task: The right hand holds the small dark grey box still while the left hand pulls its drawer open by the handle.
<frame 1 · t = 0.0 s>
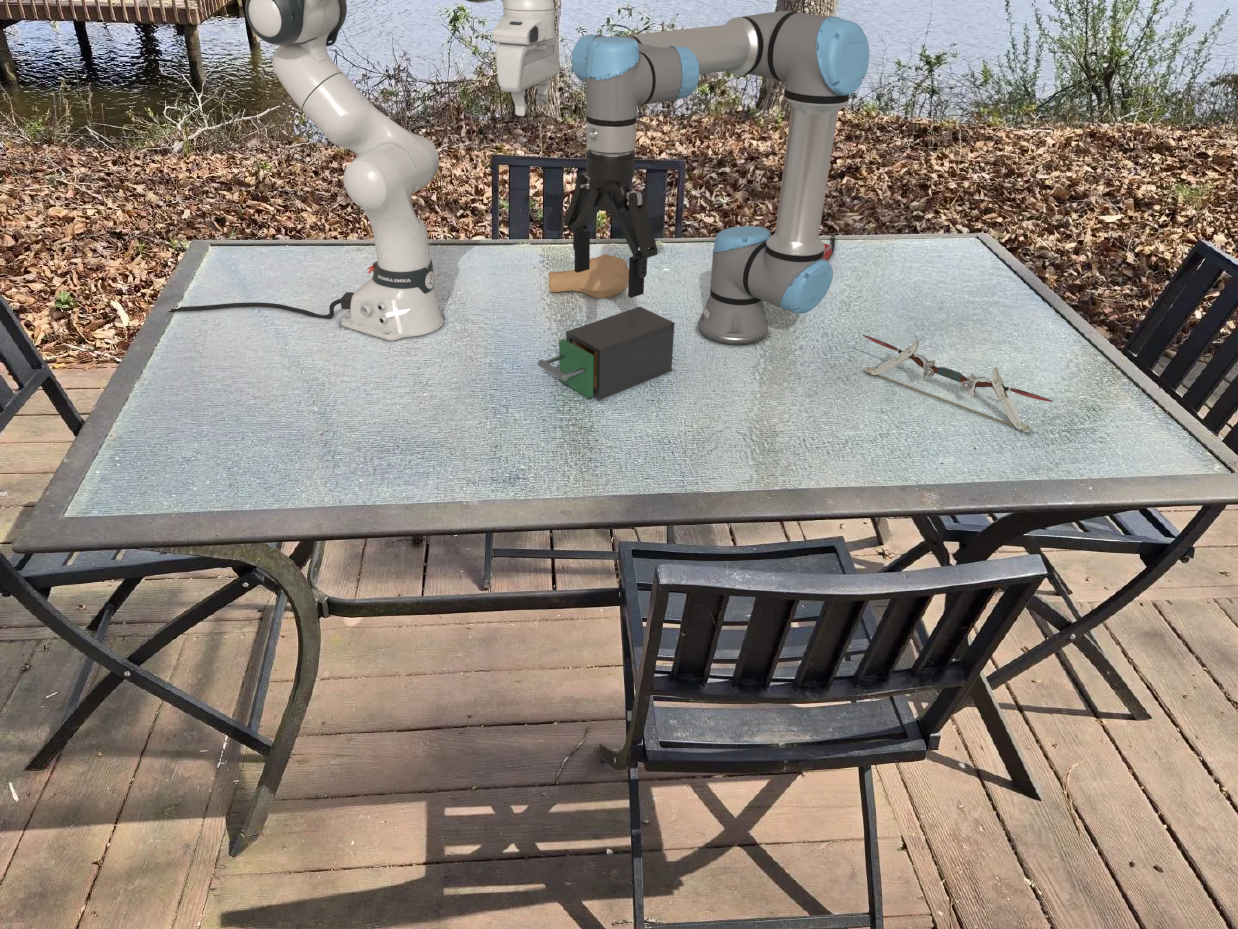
left hand: (531, 109, 161), 48 cm above the table, tool pointing down, fingers open, 8 cm apart
right hand: (608, 282, 145), 28 cm above the table, tool pointing down, fingers open, 13 cm apart
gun: (779, 270, 228), on the table
dark grey box: (619, 375, 178), on the table
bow: (943, 400, 172), on the table
squash: (589, 293, 213), on the table
drawer: (598, 359, 171), point 5 cm above the table, slide at 1.0 cm
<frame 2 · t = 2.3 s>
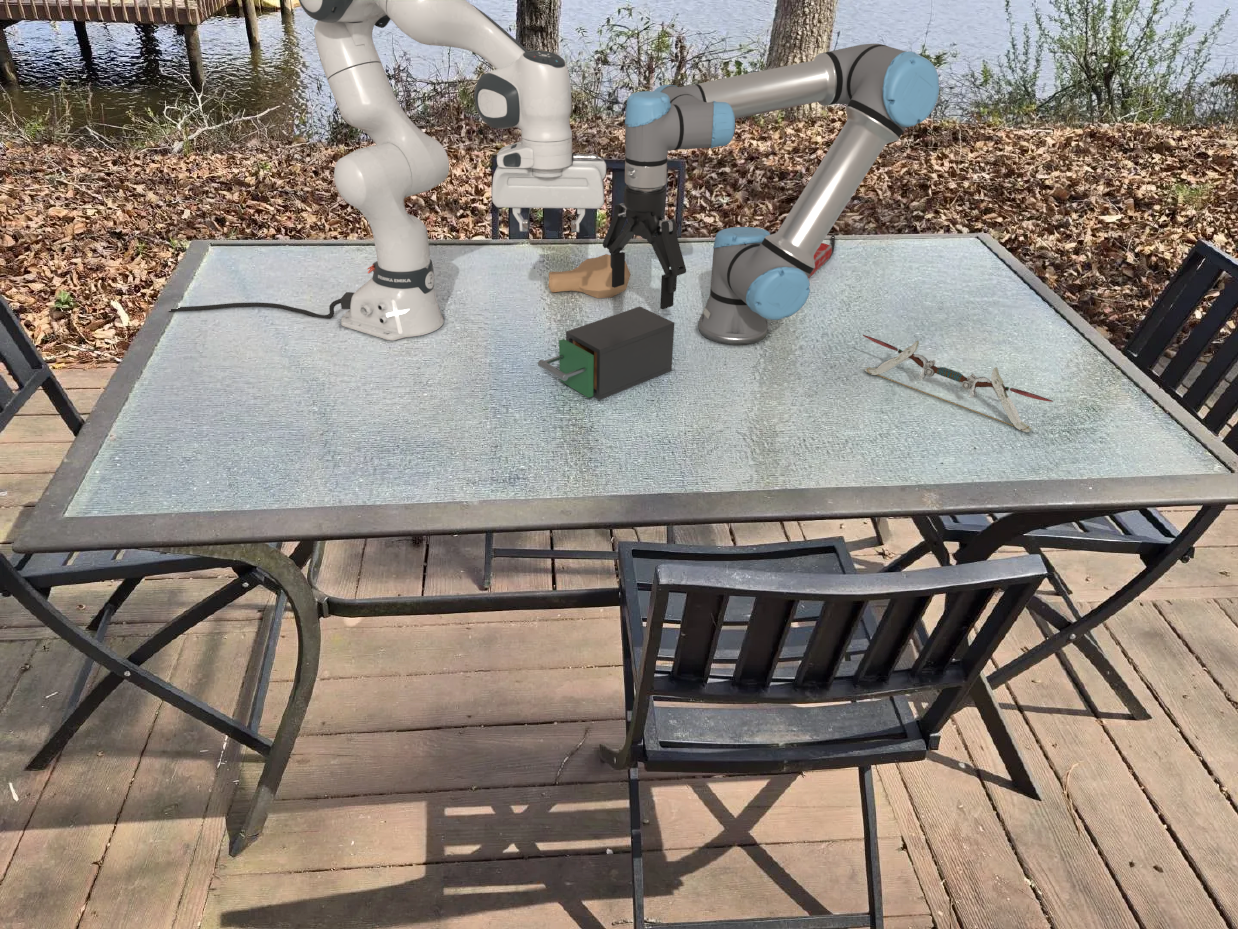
left hand: (549, 230, 161), 29 cm above the table, tool pointing down, fingers open, 8 cm apart
right hand: (641, 296, 169), 17 cm above the table, tool pointing down, fingers open, 13 cm apart
nothing on the table moved.
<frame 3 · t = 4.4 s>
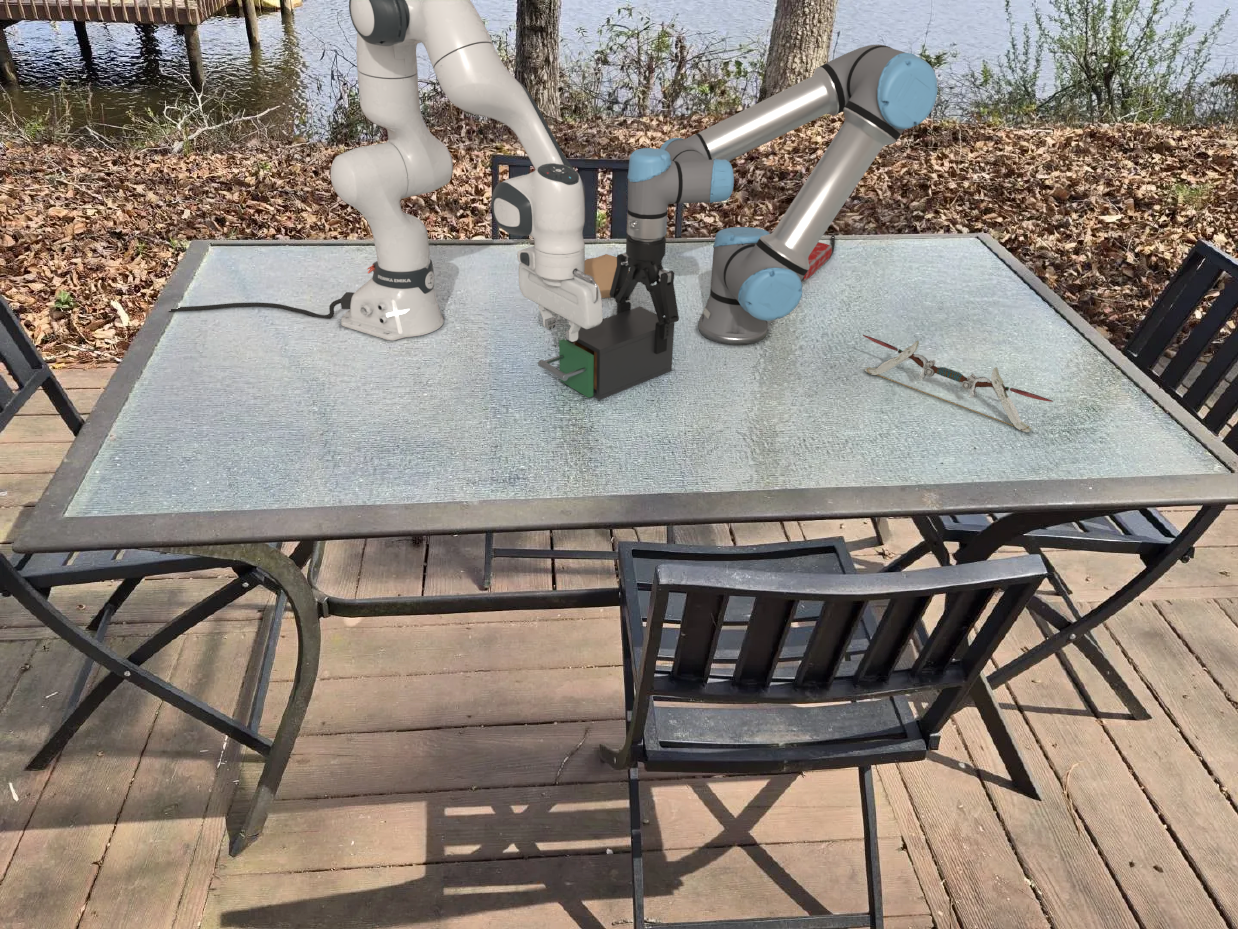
left hand: (560, 333, 162), 14 cm above the table, tool pointing down, fingers open, 5 cm apart
right hand: (641, 342, 178), 6 cm above the table, tool pointing down, fingers closed on dark grey box, 10 cm apart
dark grey box: (619, 375, 178), on the table, touching right hand
everything else where it was.
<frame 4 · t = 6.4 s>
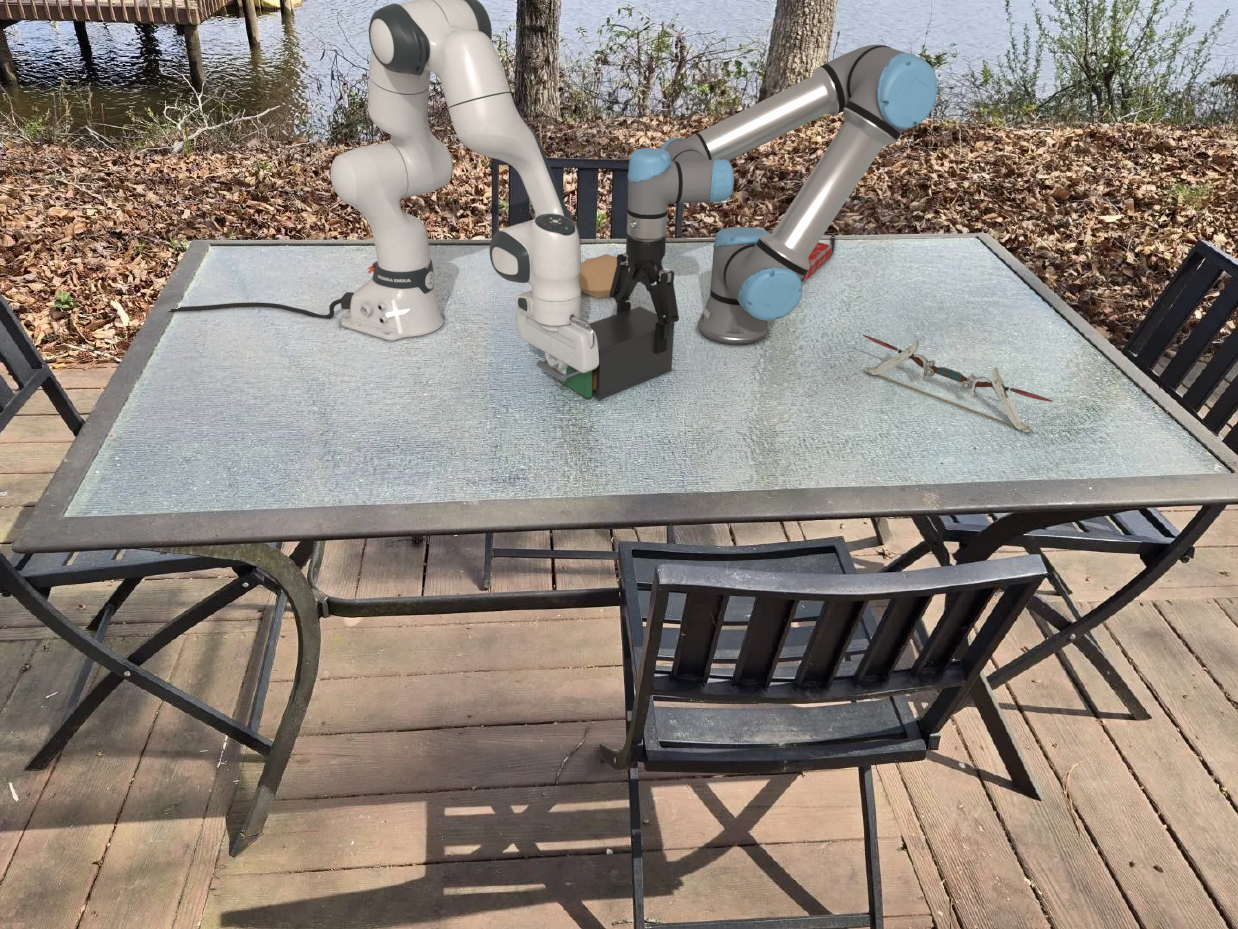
left hand: (557, 375, 166), 5 cm above the table, tool pointing down, fingers closed, pressing on drawer
right hand: (641, 342, 178), 6 cm above the table, tool pointing down, fingers closed on dark grey box, 10 cm apart
dark grey box: (619, 375, 178), on the table, touching right hand
drawer: (597, 360, 171), point 5 cm above the table, slide at 1.3 cm, touching left hand
everything else where it was.
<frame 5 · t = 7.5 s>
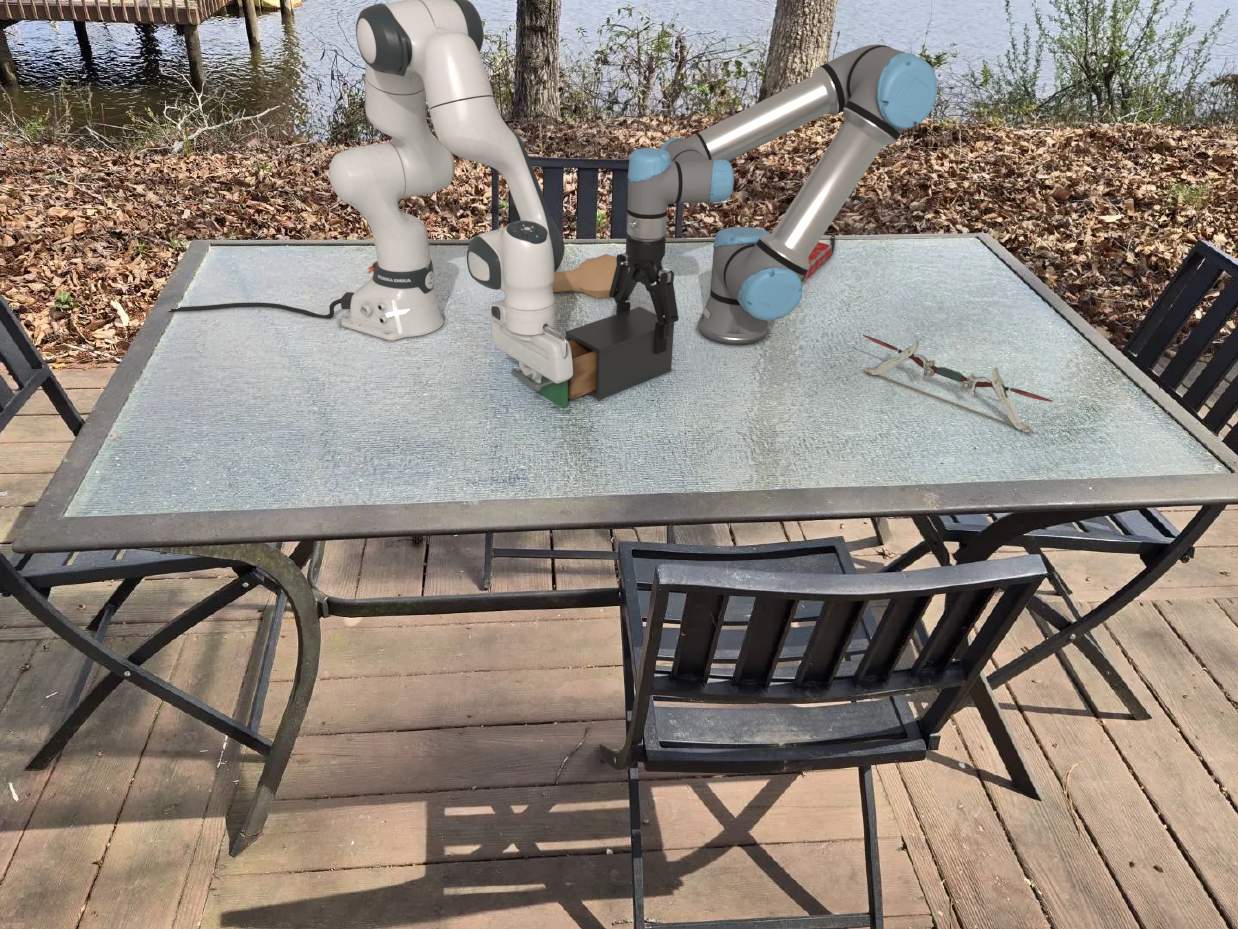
left hand: (532, 385, 163), 5 cm above the table, tool pointing down, fingers closed, pressing on drawer
right hand: (641, 342, 178), 6 cm above the table, tool pointing down, fingers closed on dark grey box, 10 cm apart
dark grey box: (619, 375, 178), on the table, touching right hand
drawer: (573, 368, 168), point 5 cm above the table, slide at 7.1 cm, touching left hand
everything else where it was.
when the right hand's fingers open (6 cm above the table, at t = 9.3 s): dark grey box stays where it is, on the table.
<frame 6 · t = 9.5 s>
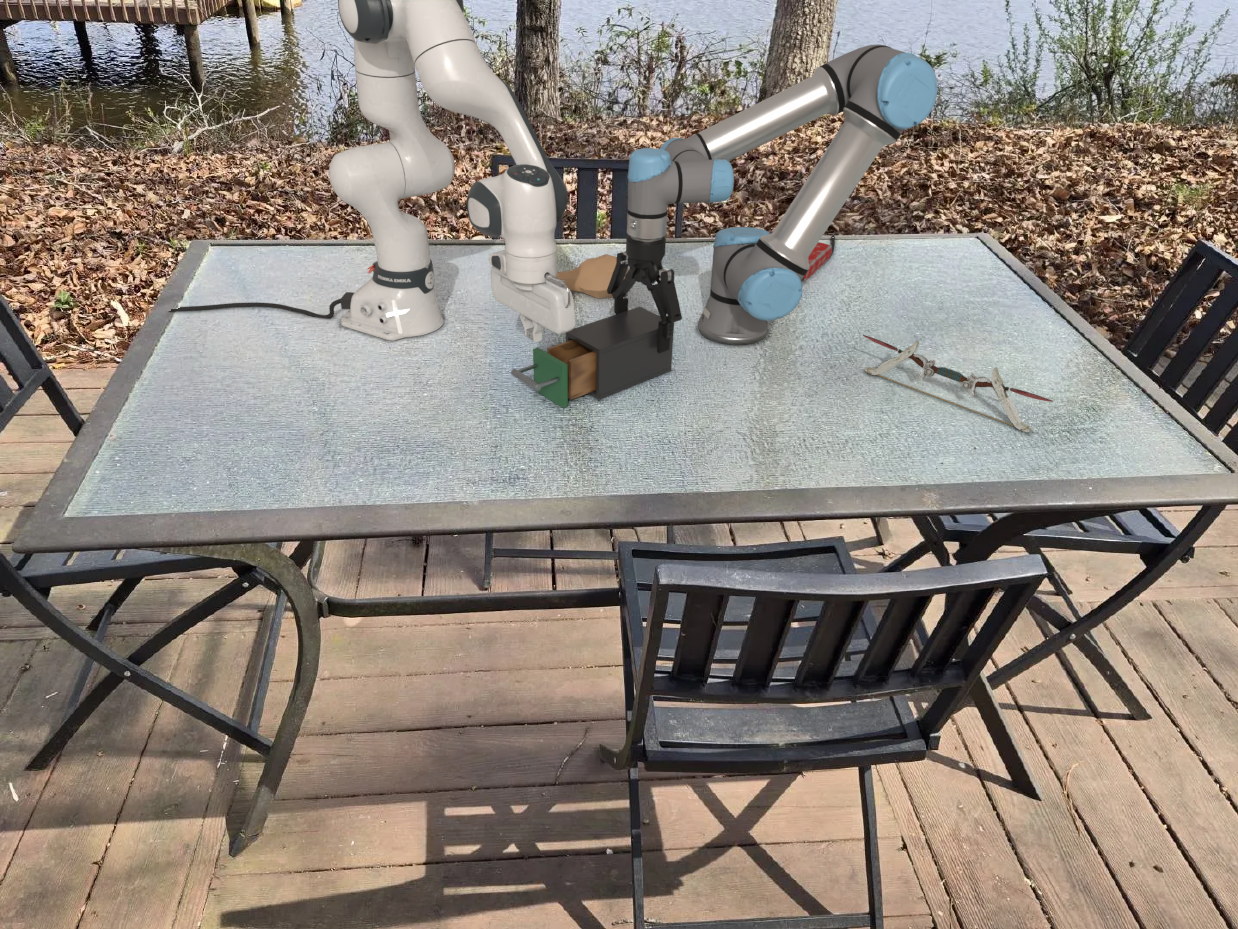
left hand: (533, 338, 158), 14 cm above the table, tool pointing down, fingers closed
right hand: (641, 339, 177), 6 cm above the table, tool pointing down, fingers open, 12 cm apart
dark grey box: (619, 375, 178), on the table
drawer: (573, 368, 168), point 5 cm above the table, slide at 7.1 cm
everything else where it was.
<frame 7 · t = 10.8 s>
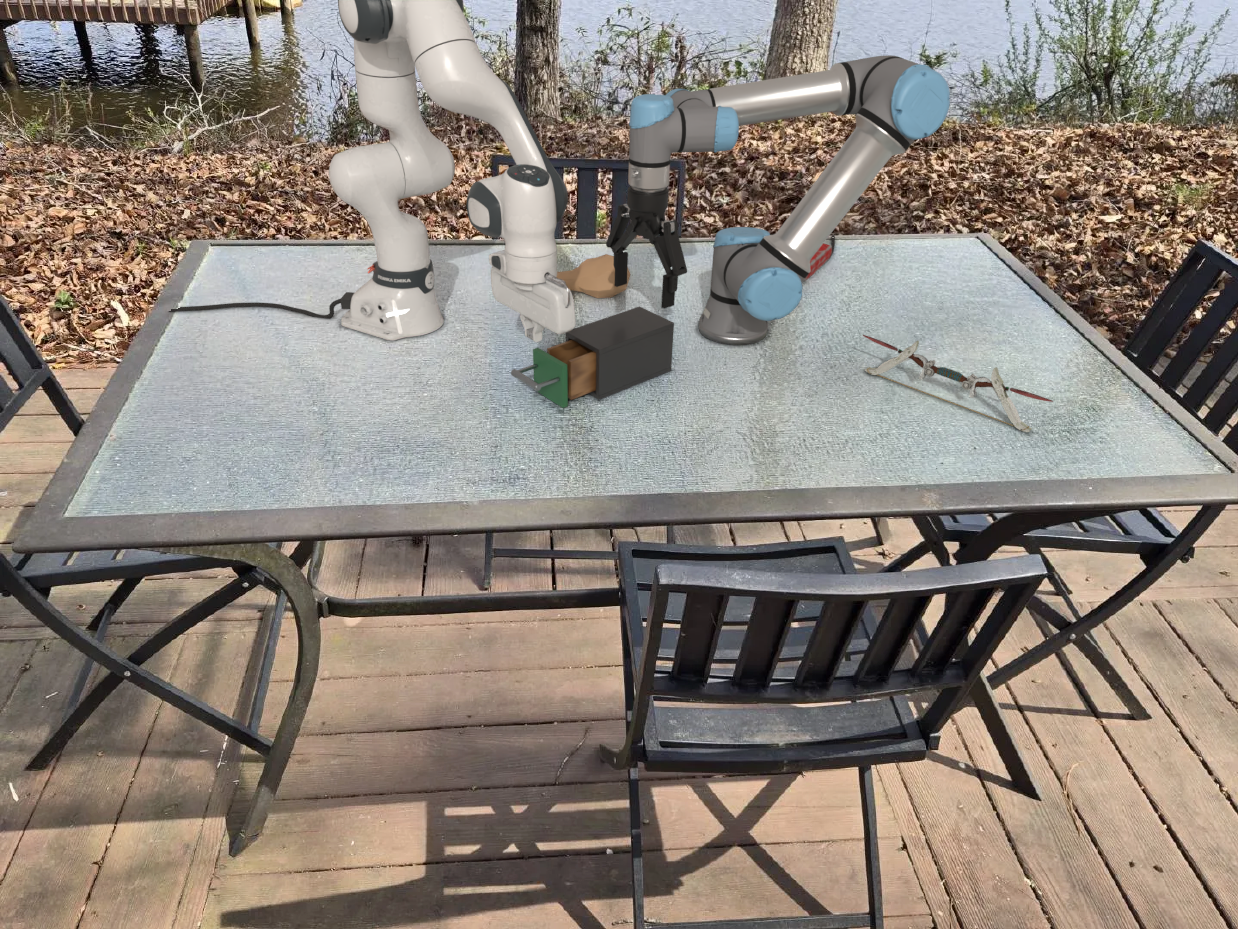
left hand: (533, 338, 158), 14 cm above the table, tool pointing down, fingers closed
right hand: (643, 295, 172), 16 cm above the table, tool pointing down, fingers open, 13 cm apart
nothing on the table moved.
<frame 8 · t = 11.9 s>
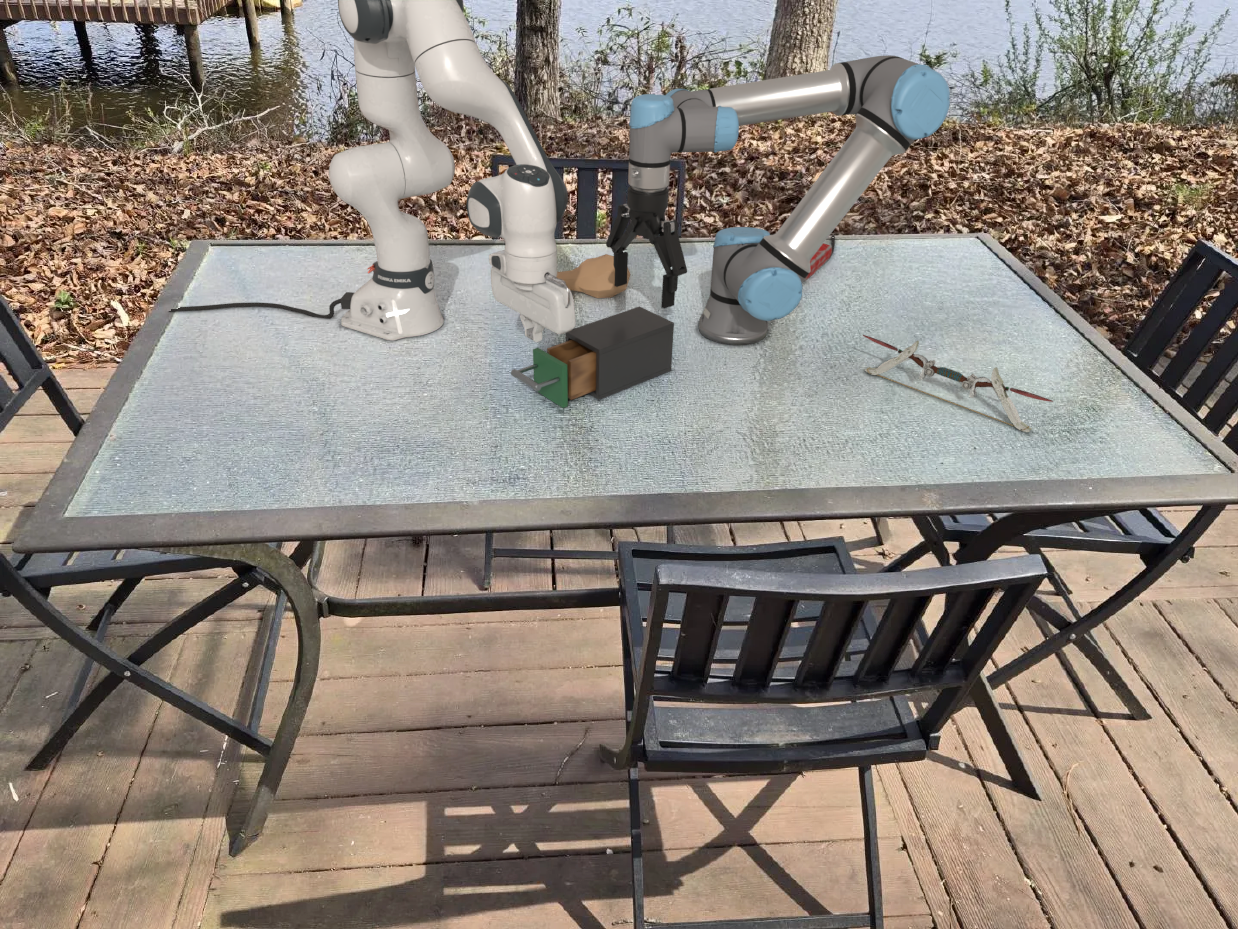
left hand: (533, 338, 158), 14 cm above the table, tool pointing down, fingers closed
right hand: (643, 295, 172), 16 cm above the table, tool pointing down, fingers open, 13 cm apart
nothing on the table moved.
at the end: drawer slide at 7.1 cm; dark grey box tilted 0°; dark grey box never tilted more than 1° during the clip; dark grey box moved 0.1 cm from its start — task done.
